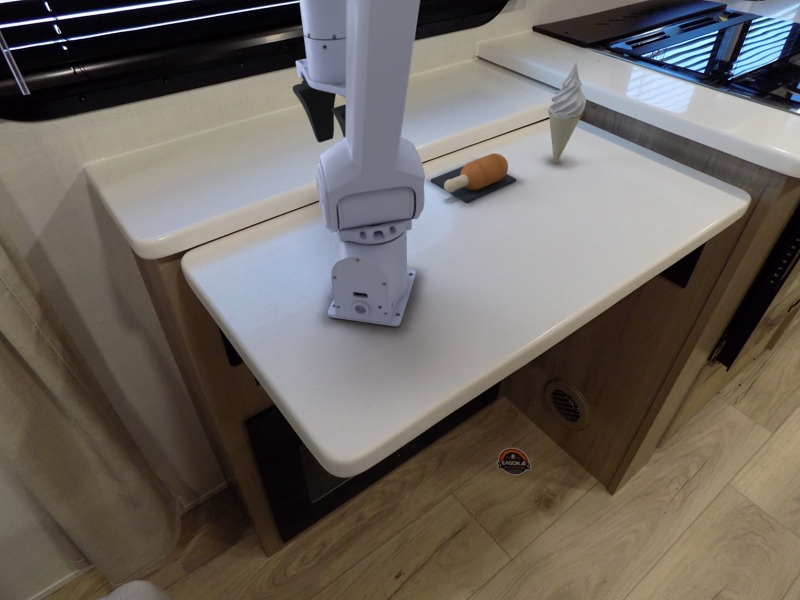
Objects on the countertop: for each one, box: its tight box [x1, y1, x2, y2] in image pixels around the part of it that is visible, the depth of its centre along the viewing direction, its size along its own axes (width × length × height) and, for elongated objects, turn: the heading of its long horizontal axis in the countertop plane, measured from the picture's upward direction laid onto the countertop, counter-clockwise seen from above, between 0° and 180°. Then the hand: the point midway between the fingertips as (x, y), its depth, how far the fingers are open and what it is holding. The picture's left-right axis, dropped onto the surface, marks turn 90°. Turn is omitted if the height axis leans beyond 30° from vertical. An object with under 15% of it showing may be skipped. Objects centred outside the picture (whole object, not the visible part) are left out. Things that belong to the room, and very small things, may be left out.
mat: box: [430, 165, 517, 204], centre depth 79 cm, size 10×8×1 cm
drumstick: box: [444, 153, 509, 193], centre depth 76 cm, size 11×4×4 cm
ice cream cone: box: [547, 63, 587, 164], centre depth 78 cm, size 5×5×15 cm
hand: (340, 150), depth 67 cm, fingers open, 7 cm apart
